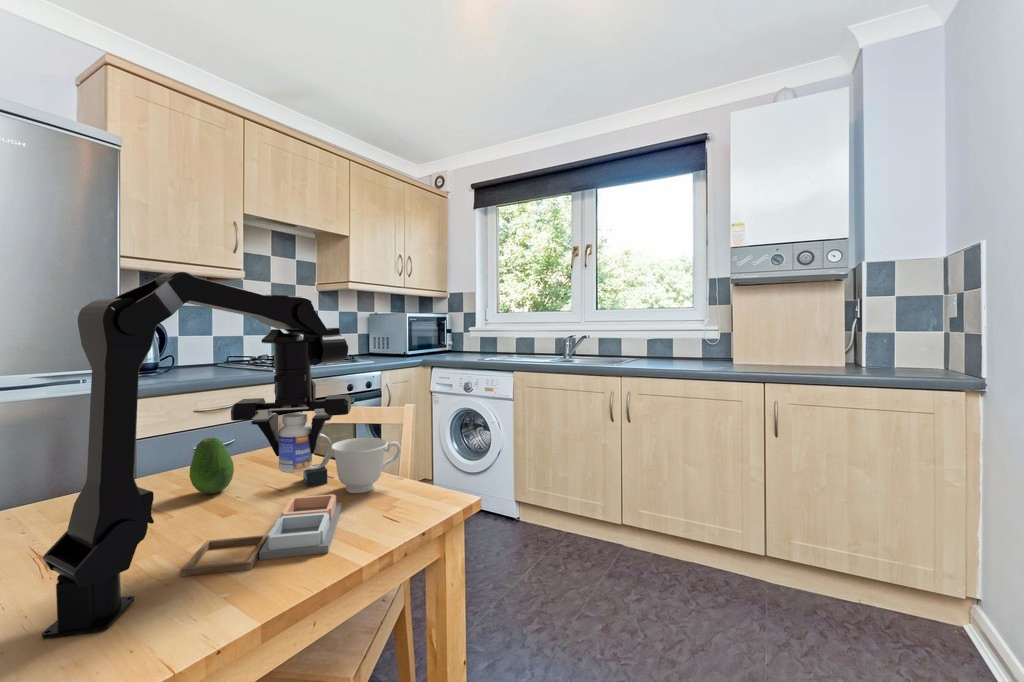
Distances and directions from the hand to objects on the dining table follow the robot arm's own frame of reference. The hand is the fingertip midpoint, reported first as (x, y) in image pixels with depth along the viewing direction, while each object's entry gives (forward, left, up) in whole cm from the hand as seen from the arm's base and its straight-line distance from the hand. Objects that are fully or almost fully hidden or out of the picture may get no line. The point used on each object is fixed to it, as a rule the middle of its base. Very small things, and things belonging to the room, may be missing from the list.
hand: (295, 454), depth 83 cm
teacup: (+18, -11, -13) cm, 25 cm away
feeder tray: (-9, +8, -13) cm, 18 cm away
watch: (+25, +1, -13) cm, 28 cm away
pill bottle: (0, 0, -3) cm, 3 cm away
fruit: (+22, +21, -13) cm, 33 cm away
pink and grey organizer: (-2, -2, -13) cm, 13 cm away
